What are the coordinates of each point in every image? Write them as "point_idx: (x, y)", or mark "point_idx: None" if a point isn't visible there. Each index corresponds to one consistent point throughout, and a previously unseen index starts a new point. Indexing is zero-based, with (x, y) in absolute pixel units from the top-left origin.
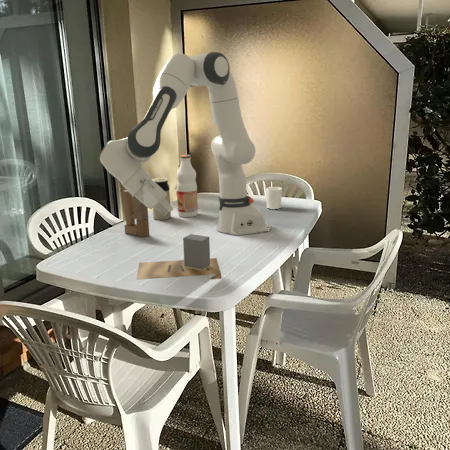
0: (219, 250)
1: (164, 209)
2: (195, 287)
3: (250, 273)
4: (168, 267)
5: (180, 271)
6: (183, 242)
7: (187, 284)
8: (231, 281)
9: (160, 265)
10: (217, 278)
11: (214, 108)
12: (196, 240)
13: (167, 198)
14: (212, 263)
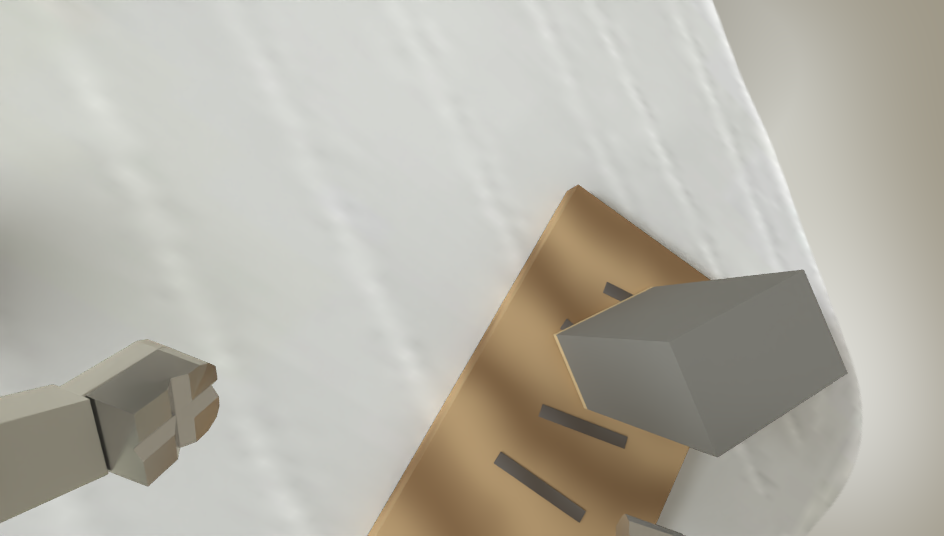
0: (431, 51)
1: (144, 413)
2: (744, 463)
3: (758, 175)
4: (531, 489)
5: (616, 458)
6: (690, 446)
7: (701, 476)
8: None
9: (468, 513)
10: None
11: None
12: (809, 395)
13: None
14: (627, 253)
